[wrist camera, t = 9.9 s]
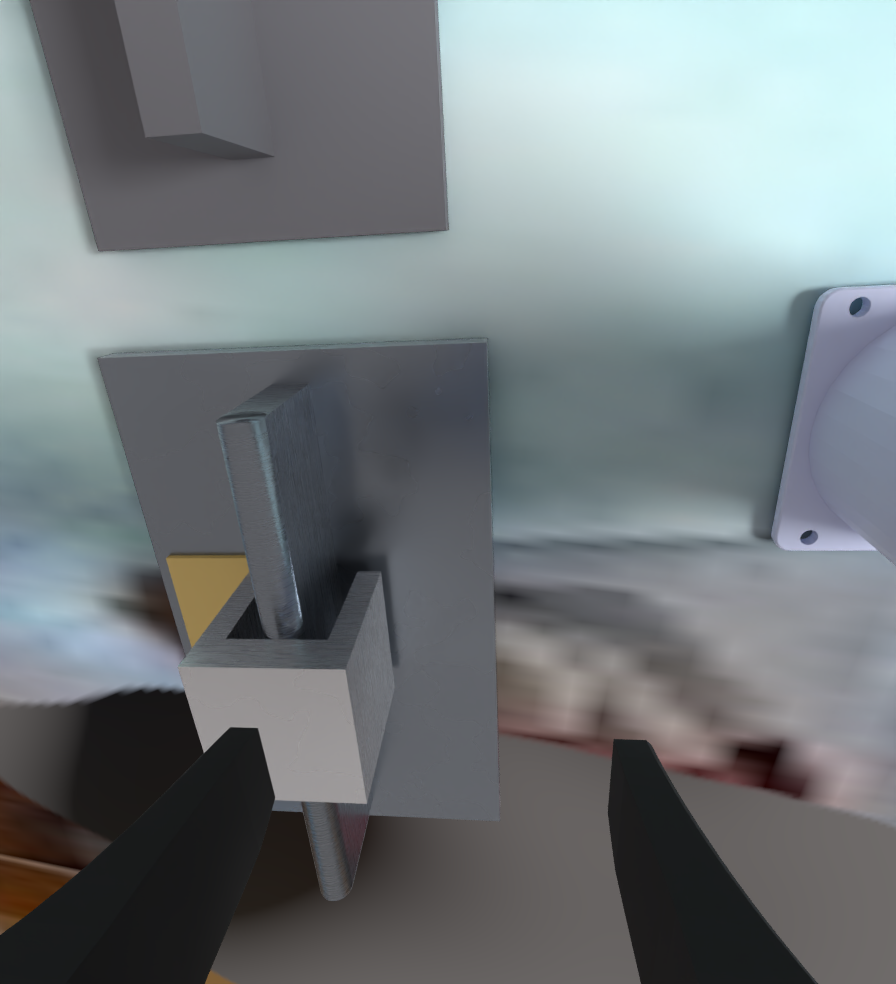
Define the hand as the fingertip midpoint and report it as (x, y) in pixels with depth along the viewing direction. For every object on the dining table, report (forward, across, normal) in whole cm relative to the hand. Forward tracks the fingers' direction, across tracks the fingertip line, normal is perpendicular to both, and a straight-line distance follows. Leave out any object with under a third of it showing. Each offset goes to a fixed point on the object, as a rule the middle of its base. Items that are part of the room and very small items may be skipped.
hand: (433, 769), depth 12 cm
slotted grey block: (+8, +5, +3) cm, 10 cm away
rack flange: (+9, +5, +3) cm, 11 cm away
